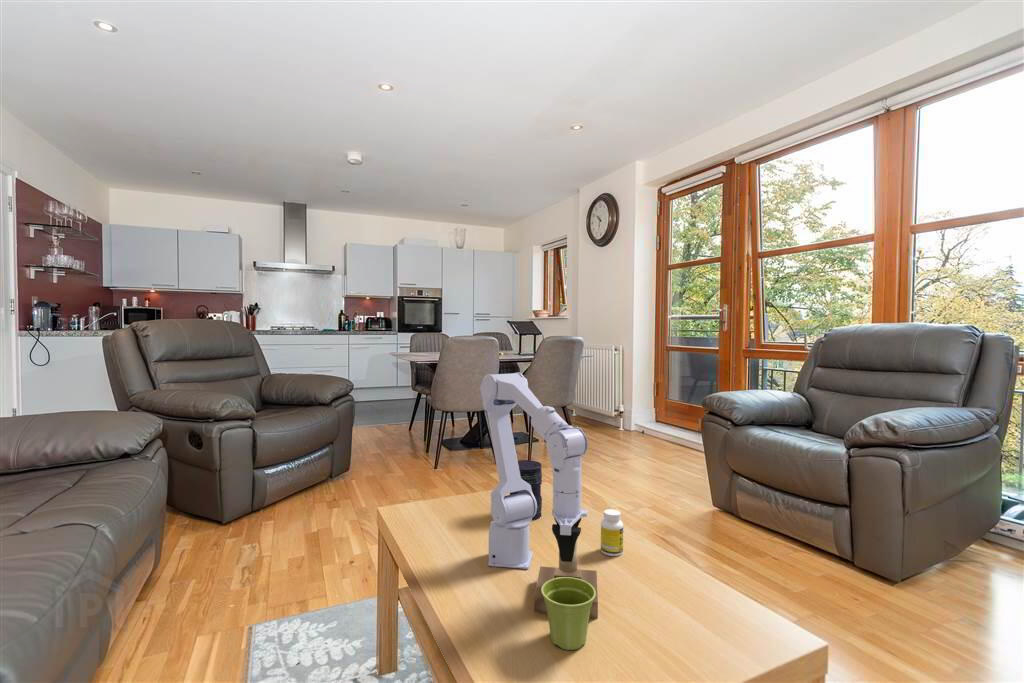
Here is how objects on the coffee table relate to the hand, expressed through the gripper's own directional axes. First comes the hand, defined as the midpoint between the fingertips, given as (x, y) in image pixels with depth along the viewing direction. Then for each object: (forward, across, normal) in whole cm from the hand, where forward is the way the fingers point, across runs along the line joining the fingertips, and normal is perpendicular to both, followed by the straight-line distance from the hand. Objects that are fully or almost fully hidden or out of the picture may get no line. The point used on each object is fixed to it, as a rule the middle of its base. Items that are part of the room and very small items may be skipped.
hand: (567, 556), depth 96 cm
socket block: (+8, 0, 0) cm, 8 cm away
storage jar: (+9, +42, +14) cm, 45 cm away
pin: (+2, 0, 0) cm, 3 cm away
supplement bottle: (+9, +22, -10) cm, 26 cm away
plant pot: (+9, -13, -1) cm, 16 cm away
